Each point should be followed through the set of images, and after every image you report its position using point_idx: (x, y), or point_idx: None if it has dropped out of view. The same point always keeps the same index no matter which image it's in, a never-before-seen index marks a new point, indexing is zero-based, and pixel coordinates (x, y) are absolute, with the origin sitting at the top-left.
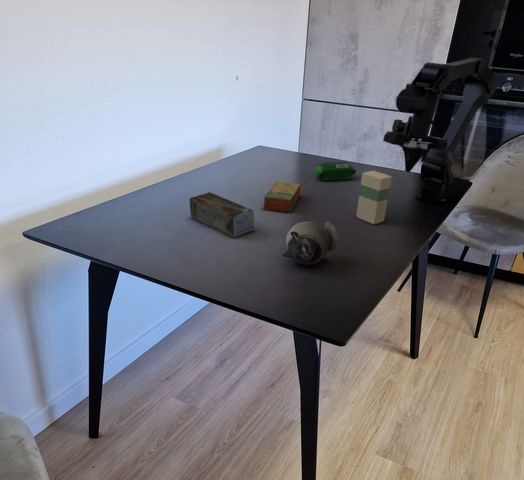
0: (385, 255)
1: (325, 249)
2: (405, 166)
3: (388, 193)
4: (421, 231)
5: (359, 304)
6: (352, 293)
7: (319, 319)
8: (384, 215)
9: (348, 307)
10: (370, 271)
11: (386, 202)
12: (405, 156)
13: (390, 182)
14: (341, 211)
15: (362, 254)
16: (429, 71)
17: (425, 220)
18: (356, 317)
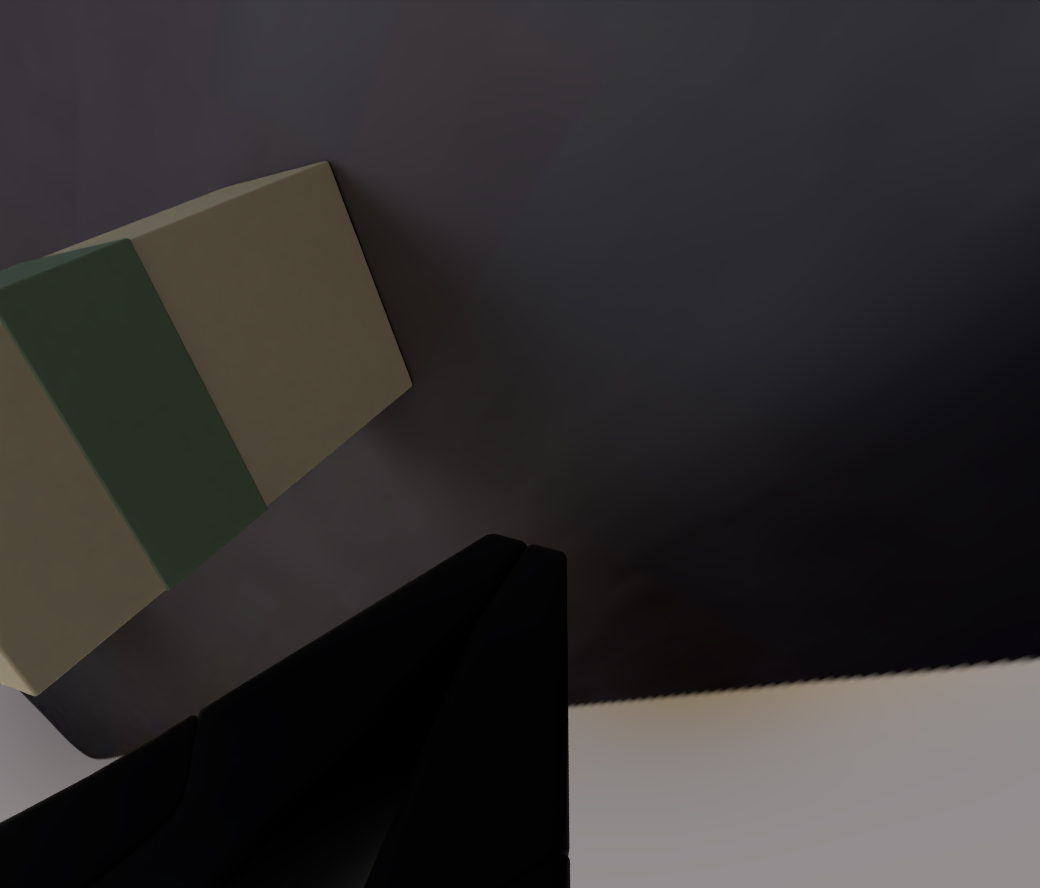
0: (254, 659)
1: None
2: (397, 604)
3: (209, 550)
4: (583, 660)
5: (124, 732)
6: (113, 699)
7: (46, 699)
8: (373, 413)
9: (101, 720)
10: (175, 678)
11: (279, 487)
12: (89, 832)
13: (101, 638)
14: None
15: (170, 594)
16: None
17: (803, 584)
18: (114, 748)
